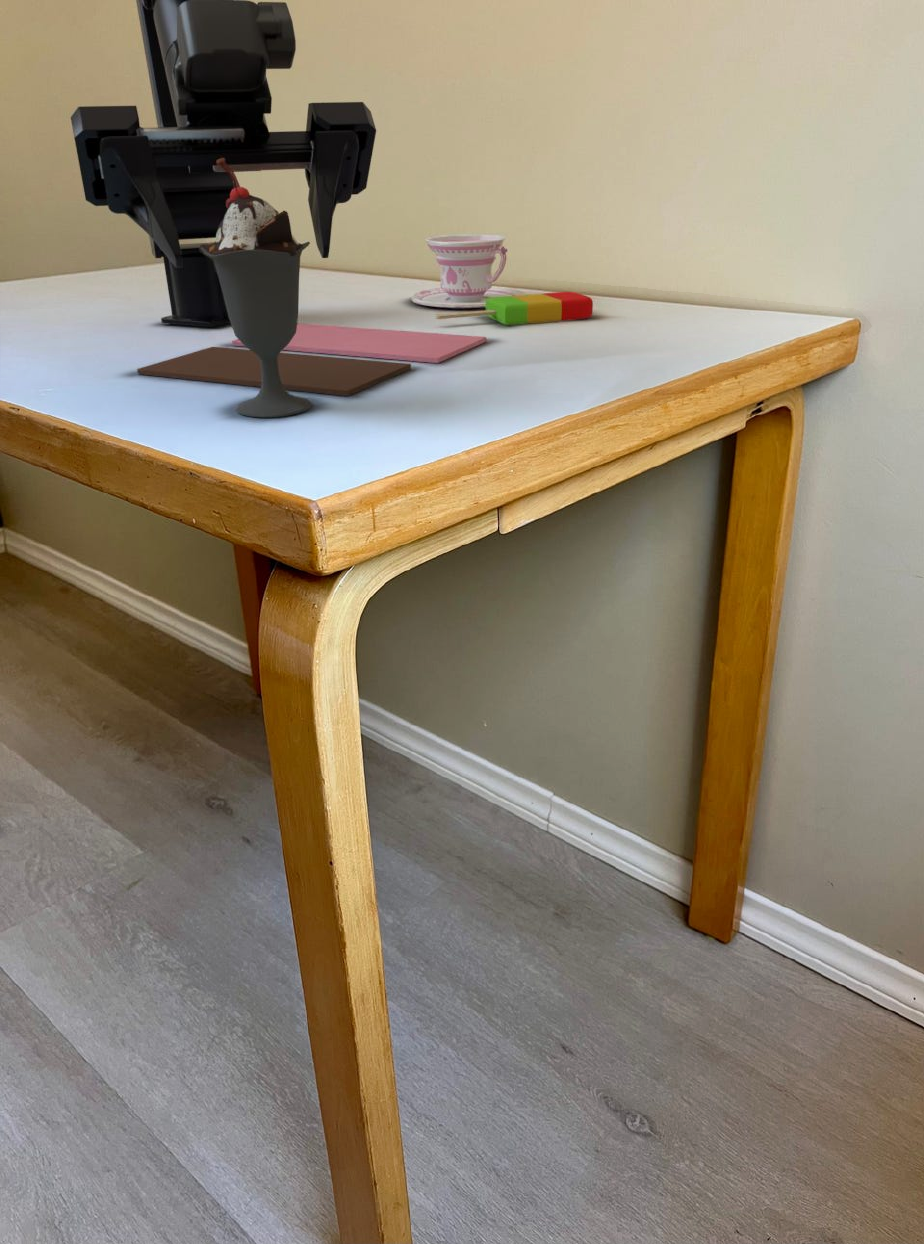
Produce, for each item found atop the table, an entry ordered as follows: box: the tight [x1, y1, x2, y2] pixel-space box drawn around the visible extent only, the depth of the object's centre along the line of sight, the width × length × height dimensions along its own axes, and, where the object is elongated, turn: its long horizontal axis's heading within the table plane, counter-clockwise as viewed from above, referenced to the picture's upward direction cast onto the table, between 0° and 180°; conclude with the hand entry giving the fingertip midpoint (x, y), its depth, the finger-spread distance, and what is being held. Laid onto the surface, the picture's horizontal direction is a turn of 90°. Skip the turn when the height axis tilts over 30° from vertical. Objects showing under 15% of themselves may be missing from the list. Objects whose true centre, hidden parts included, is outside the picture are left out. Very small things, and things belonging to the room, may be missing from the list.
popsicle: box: [435, 291, 594, 326], centre depth 91 cm, size 6×15×2 cm, turn 109°
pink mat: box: [231, 322, 487, 364], centre depth 83 cm, size 20×9×1 cm, turn 64°
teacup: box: [410, 233, 526, 309], centre depth 100 cm, size 12×12×6 cm
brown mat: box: [136, 346, 412, 397], centre depth 74 cm, size 19×9×1 cm, turn 64°
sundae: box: [199, 158, 312, 419], centre depth 61 cm, size 7×7×15 cm
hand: (254, 257), depth 61 cm, fingers open, 9 cm apart
